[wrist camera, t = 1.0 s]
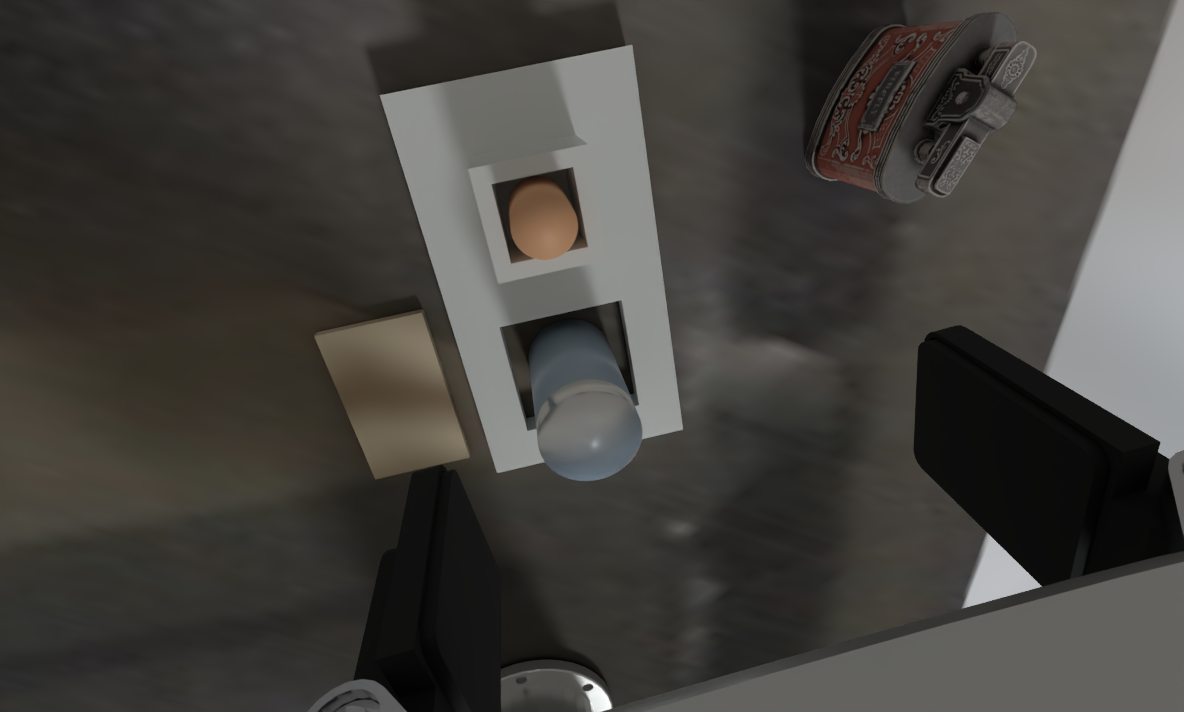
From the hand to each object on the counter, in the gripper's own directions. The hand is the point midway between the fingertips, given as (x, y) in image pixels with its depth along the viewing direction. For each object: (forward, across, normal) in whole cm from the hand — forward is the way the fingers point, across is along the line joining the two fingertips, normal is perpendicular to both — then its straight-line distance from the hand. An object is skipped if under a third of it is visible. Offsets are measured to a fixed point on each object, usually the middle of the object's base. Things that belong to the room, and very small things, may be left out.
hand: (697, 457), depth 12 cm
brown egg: (+20, +2, -1) cm, 20 cm away
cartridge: (+23, +2, +9) cm, 25 cm away
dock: (+23, +2, +4) cm, 24 cm away
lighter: (+24, -16, -1) cm, 29 cm away
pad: (+23, +13, +9) cm, 28 cm away
